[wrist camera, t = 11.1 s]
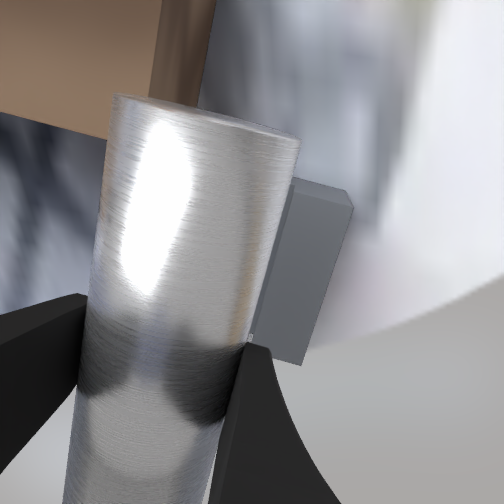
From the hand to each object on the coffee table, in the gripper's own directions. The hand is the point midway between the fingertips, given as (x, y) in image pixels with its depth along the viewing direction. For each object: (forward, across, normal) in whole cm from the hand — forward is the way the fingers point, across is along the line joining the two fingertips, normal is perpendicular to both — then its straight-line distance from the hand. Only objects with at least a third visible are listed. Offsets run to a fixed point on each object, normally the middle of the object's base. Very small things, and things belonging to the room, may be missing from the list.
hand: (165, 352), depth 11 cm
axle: (+2, 0, 0) cm, 2 cm away
